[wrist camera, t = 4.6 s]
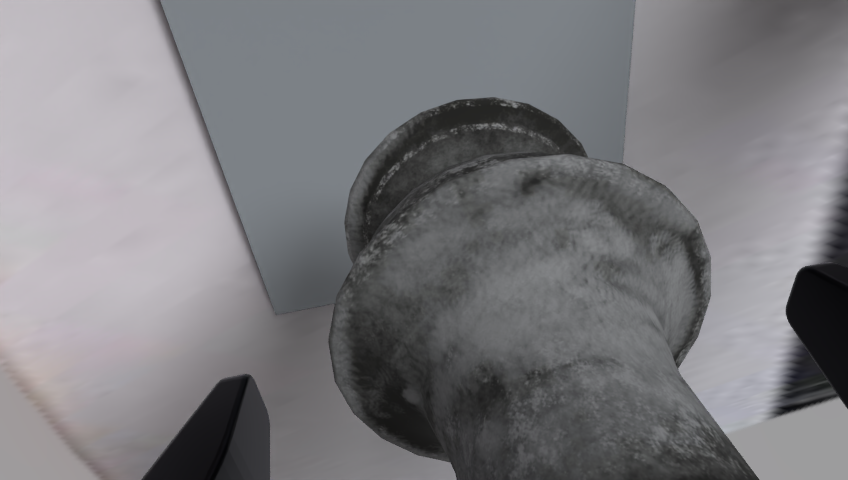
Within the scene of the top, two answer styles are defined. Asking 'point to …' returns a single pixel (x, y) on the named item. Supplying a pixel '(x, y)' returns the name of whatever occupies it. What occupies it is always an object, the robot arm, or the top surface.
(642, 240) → the grey tall turned piece
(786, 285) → the top surface
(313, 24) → the slate mat
